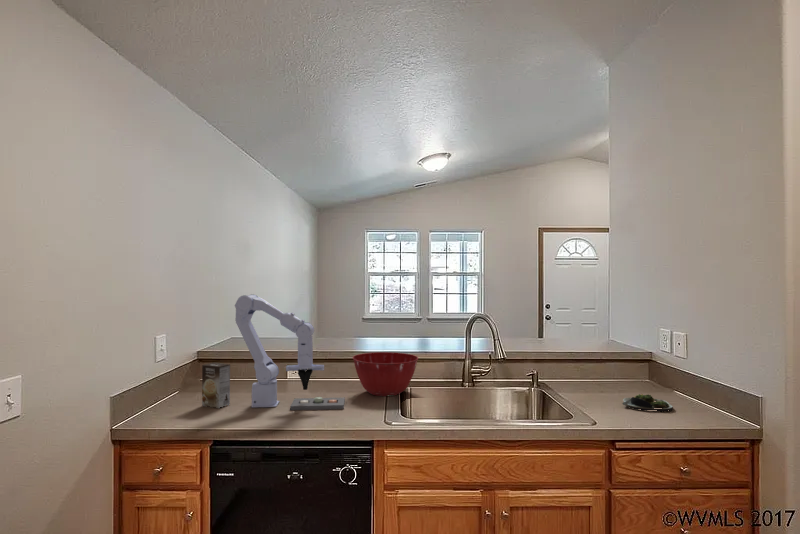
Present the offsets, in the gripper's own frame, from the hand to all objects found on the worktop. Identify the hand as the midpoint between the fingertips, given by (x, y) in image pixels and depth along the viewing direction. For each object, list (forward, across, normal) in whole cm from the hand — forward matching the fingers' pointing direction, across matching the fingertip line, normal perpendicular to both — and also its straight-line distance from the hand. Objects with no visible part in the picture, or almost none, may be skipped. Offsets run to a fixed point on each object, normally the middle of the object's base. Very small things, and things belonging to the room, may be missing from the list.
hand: (305, 389), depth 201 cm
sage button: (+5, +5, 0) cm, 7 cm away
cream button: (+6, 0, 0) cm, 6 cm away
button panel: (+6, +5, 0) cm, 8 cm away
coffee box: (+7, -35, +4) cm, 36 cm away
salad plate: (+8, +131, -11) cm, 132 cm away
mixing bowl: (+7, +32, +20) cm, 38 cm away
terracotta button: (+6, +11, 0) cm, 12 cm away
